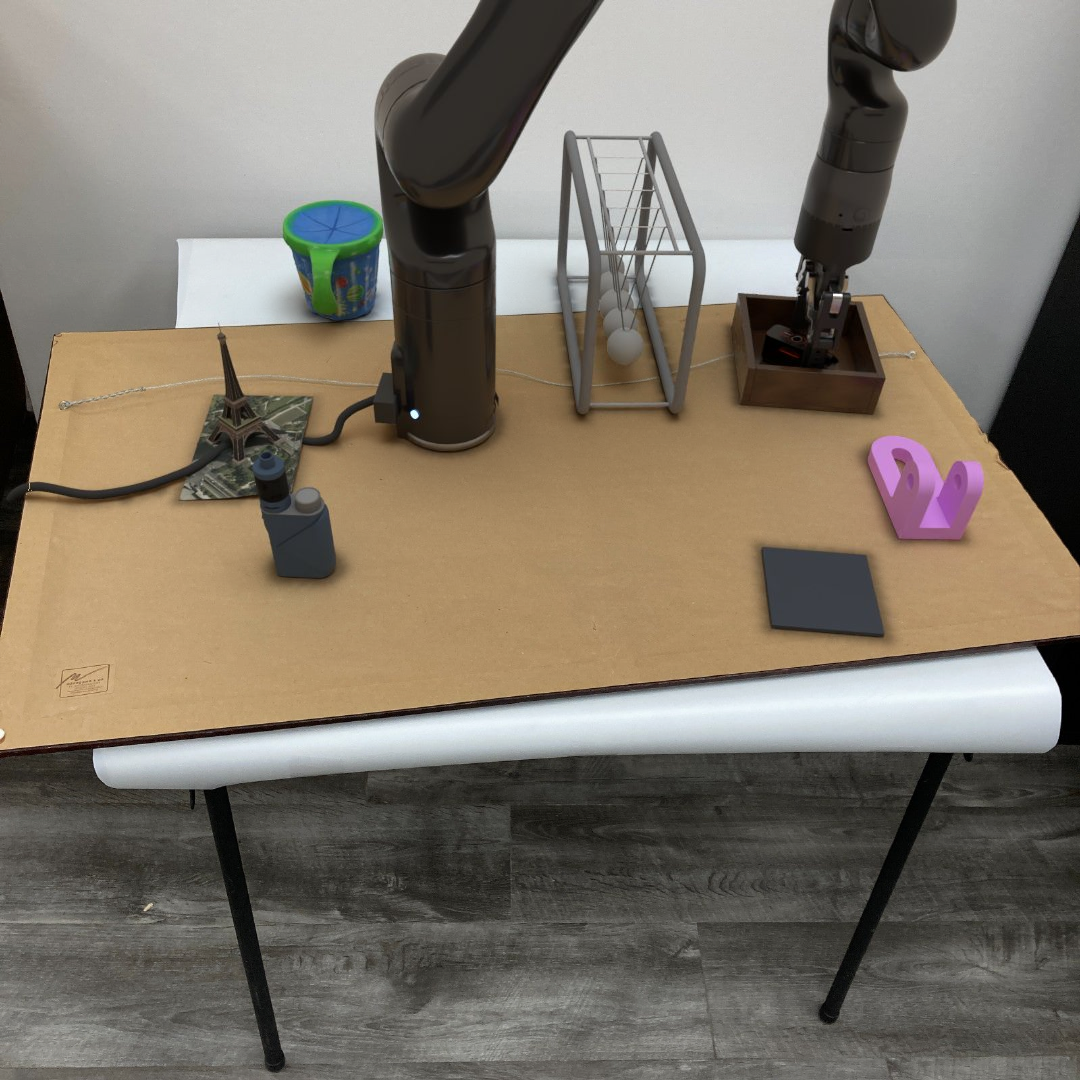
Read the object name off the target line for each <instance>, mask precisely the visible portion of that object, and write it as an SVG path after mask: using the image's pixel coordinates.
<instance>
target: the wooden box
mask: <svg viewBox="0 0 1080 1080" xmlns="http://www.w3.org/2000/svg"><path fill="white" fill-rule="evenodd" d="M796 300H797V296H788V295H787V296H786V295H774V294H759V293H746V292H738V293H737V297H736V303H735V307H734V311H733V312H734V313H733V316H732V317H733V318H732V322H731V327H730V329H731V335H732V336H731V337H732V344H733V345H732V346H733V353H734V361H735V369H736V378H737V387H738V394H739V402H740V403H739V404H740V405H743V406H757V407H758V406H759V407H770V408H784V409H795V410H796V409H798V410H811V411H824V412H837V413H848V414H849V413H852V414H864V415H874V414H875V412H876V408H877V406H878V402H879V399H880V397H881V394H882V391H883V388H884V385H885V383H886V379H887V377H886V373H885V371H884V367H883V365H882V361H881V357H880V355H879V351H878V347H877V344H876V341H875V338H874V335H873V332H872V328H871V326H870V322H869V319H868V316H867V312H866V308H865V306H864V303H863V301H859V300H855V301H854V300H851V302H850V304H849V308H848V311H847V315H846V319H845V323H844V326H843V330H842V334H841V338H840V341H839V346H838V349H837V350H830V349H829V350H828V352H829V353H830V354H832V355H834V356H835V357H837V359H838V361H839V362H838V363H837V364H835V365H833V364H832V365H831V366H829V367H826V366H825V365H824V368H823V369H815V368H802V367H788V366H777V365H775V364H773V363H770V362H768V361H766V360H764V359H763V358H762V356H761V353H762V349H763V345H764V340H765V336H766V332H767V331H768V330H769V329H771V328H772V327H773V326H774V325H782V326H784V327H787V328H789V329H792V330H794V331H797V332H799V333H802V334H804V335H808V330H802V329H794V328H793V327H792V324H791V321H792V316H793V312H794V308H795V304H796ZM816 311H819V307H817V310H816ZM821 332H824V333H828V328H824V329H822V331H821Z"/></svg>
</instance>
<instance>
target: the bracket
mask: <svg viewBox="0 0 1080 1080" xmlns="http://www.w3.org/2000/svg"><path fill="white" fill-rule="evenodd" d="M896 460H898V461H900V462H903V463H904V464H905V465H904V466H903V469H902V471H900V469H899V467H898V465H897V463H896ZM867 465H868V468H869V470H870V472H871V474H872V477H873V480H874V481H875V484H876V487H877V489H878V492H879V494H880V497H881V499H882V502H883V503H884V507H885V508H886V511H887V514H888V516H889V518H890V520H891V523H892V526H893V529H894V530H895V534H896V535H897V537H898V540H954V541H955V540H957V541H959V540H961V539H962V537H963V535H964V533H965V531H966V529H967V526H968V525H969V523H970V520H971V518H972V517H973V514H974V512H975V510H976V507H977V506H978V503H979V501H980V499H981V497H982V494H983V491H984V488H985V487H984V486H985V477H984V471H983V468H982V466H981V464H980V463H979V462H978V461H976V460H956V461H955V462H953V463H952V465H951V466H950V469H949V471H948V473H947V475H946V478H945V480H943V478H942V476H941V474H940V472H939V470H938V468H937V466H936V464H935V462H934V459H933V458H932V455H931V453H930V451H928V449H927V448H926V447H925V446H924V445H922V444H921V443H919V442H918V441H916V440H914V439H911V438H908V437H904V436H900V435H885V436H882V437H879V438H877V439H876V440H875V441H874V442H872V445H871V448H870V450H869V453H868V456H867Z"/></svg>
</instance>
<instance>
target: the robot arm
mask: <svg viewBox="0 0 1080 1080" xmlns="http://www.w3.org/2000/svg"><path fill="white" fill-rule="evenodd" d="M604 2H605V0H479V1H478V3H477V5H476V7H475V9H474V11H473V13H472V14H471V16H470V18H469V19H468V20H467V21H468V22H467V23H466V24H465V27H463V29H462V31H461V32H460V34H459V35H458V37H457V38H456V40H455V41H454V43H453V44H452V46H451V47H450V49H449V50H448V52H447V53H446V54H444V53H438V52H424V53H418V54H415V55H412V56H409V57H407V58H405V59H404V60H402V61H400V62H399V63H397V64H396V65H395V66H394V67H393V68H392V69H391V70H390V71H389V73H387V75H386V77H384V79H383V81H382V83H381V85H380V87H379V89H378V92H377V94H376V98H375V103H374V109H373V110H374V115H373V125H374V139H375V151H376V152H375V153H376V162H377V174H378V183H379V184H378V185H379V193H380V204H381V205H380V206H381V214H382V216H381V217H382V220H383V230H384V234H385V241H386V248H387V257H388V267H389V278H390V289H391V290H390V292H391V305H392V319H393V329H394V330H393V333H394V340H393V341H394V342H393V344H392V348H391V350H390V356H389V357H390V367H391V368H390V369H391V372H385V371H384V372H382V373H381V376H380V378H379V379H380V380H379V382H378V385H377V388H376V392H375V394H373V395H371V396H368V397H366V398H363V399H361V400H358V401H357V402H354V403H353V404H351V405H349V406H347V407H346V408H345V409H344V410H342V411H341V412H340V414H339V415H338V417H337V418H336V420H335V423H334V427H333V430H332V431H331V432H330V433H328V434H326V435H324V436H318V437H310V436H305V435H304V436H303V441H302V445H304V446H311V447H323V446H326V445H329V444H332V443H334V442H335V441H337V440H338V439H339V438H340V436H341V435H342V432H343V429H344V426H345V424H346V421H347V420H348V419H349V418H350V417H352V416H353V415H354V414H356V413H358V412H360V411H362V410H365V409H367V408H369V407H372V406H373V415H374V423H375V424H386V425H395V428H396V436H397V437H398V438H402V439H404V438H405V439H408V440H410V442H412V443H414V444H416V445H418V446H419V447H421V448H425V449H428V450H431V451H432V450H433V451H440V452H455V451H462V450H466V449H471V448H473V447H476V446H478V445H480V444H482V443H483V442H484V441H486V440H487V439H488V438H489V437H490V436H491V435H492V434H493V433H494V431H495V429H496V426H497V411H496V410H497V406H498V407H499V406H500V404H499V402H500V400H499V399H500V398H499V395H498V393H497V390H496V384H497V383H496V381H497V380H496V379H497V377H496V374H497V373H496V371H497V369H496V368H497V367H496V363H497V362H496V361H497V358H496V357H497V234H496V229H495V224H494V219H493V214H492V213H493V212H492V207H491V198H490V191H489V189H490V186H491V185H493V183H494V182H495V181H496V180H497V178H498V176H499V175H500V174H501V172H502V170H503V168H504V167H505V165H506V164H507V162H508V160H509V158H510V156H511V154H512V152H513V151H514V148H515V147H516V145H517V143H518V141H519V139H520V138H521V136H522V134H523V131H524V130H525V128H526V126H527V124H528V122H529V121H530V119H531V117H532V115H533V113H534V111H535V110H536V108H537V106H538V104H539V102H540V101H541V99H542V97H543V95H544V93H545V91H546V89H547V88H548V86H549V84H550V82H551V81H552V79H553V77H554V76H555V74H556V73H557V70H558V69H559V67H560V66H561V64H562V63H563V61H564V59H565V58H566V57H567V55H568V54H569V52H570V51H571V49H572V48H573V46H574V45H575V44H576V42H577V41H578V39H579V38H580V37H581V36H582V34H583V32H584V31H585V29H587V27H588V26H589V24H590V23H591V21H592V19H593V18H594V17H595V15H596V14H597V12H598V11H599V10H600V8H601V6H602V5H603V4H604ZM957 12H958V0H834V1H833V4H832V7H831V10H830V14H829V22H828V28H827V29H828V30H827V52H826V53H827V61H826V62H827V63H826V64H827V65H826V68H827V69H826V86H827V107H826V111H825V116H824V119H823V122H822V126H821V127H822V128H821V131H820V135H819V136H820V137H819V140H818V144H817V150H816V153H815V156H814V160H813V163H812V165H811V166H810V169H809V173H808V177H807V180H806V185H805V189H804V193H803V199H802V202H801V206H800V211H799V215H798V220H797V224H796V228H795V233H794V237H793V244H794V245H793V246H794V247H795V249H796V251H797V252H798V253H799V254H800V258H799V262H798V265H797V269H796V272H795V274H794V275H795V276H794V277H795V281H796V282H797V286H796V287H795V292H796V297H797V300H796V304H795V308H794V312H793V316H792V321H791V324H792V327H793V328H794V329H802V330H808V335H807V342H806V346H805V349H804V353H803V357H802V361H801V365H800V367H802V368H815V369H823V368H824V364H825V361H826V357H827V354H828V350H829V349H830V350H837V349H838V346H839V341H840V338H841V334H842V330H843V326H844V323H845V319H846V315H847V311H848V308H849V304H850V302H851V301H852V294H851V293H850V292H847V291H848V288H849V282H850V281H849V280H850V277H849V274H847V273H846V271H847V270H848V269H850V268H852V267H853V266H856V265H860V264H863V263H865V261H867V260H868V259H869V258H870V257H871V255H872V252H873V250H874V246H875V243H876V239H877V235H878V232H879V229H880V225H881V222H882V218H883V215H884V211H885V208H886V205H887V201H888V198H889V195H890V192H891V186H892V181H893V174H894V168H895V164H896V160H897V157H898V153H899V150H900V147H901V143H902V139H903V136H904V132H905V129H906V126H907V121H908V118H909V117H908V116H909V102H908V99H907V97H906V96H905V94H904V93H903V92H902V90H901V89H900V88H899V86H898V84H897V83H896V80H895V77H894V71H895V72H900V73H911V72H915V71H919V70H921V69H923V68H924V69H925V67H927V66H929V65H930V64H932V63H933V62H934V61H935V60H937V58H938V57H939V56H940V55H941V54H942V52H943V51H944V50H945V48H946V46H947V45H948V43H949V41H950V39H951V36H952V34H953V31H954V27H955V24H956V20H957ZM817 307H819V311H816V310H817ZM824 328H828V333H824V332H821V331H822V329H824ZM496 405H497V406H496ZM270 429H271V430H272V431H273V432H274V433H275V434H290V433H288V432H286V431H283V430H278V429H272V428H270ZM257 435H265V433H263V432H253V433H251V434H250V435H249V436H248V437H247V438H249V437H253V436H257ZM231 445H233V443H232V440H231V438H229V439H227V440H225V441H224V442H222V443H221V444H219V445H218V446H217V447H215V448H214V449H213V450H211V451H210V452H209V453H207V454H206V455H205V456H203V457H202V458H200V459H199V460H197V461H196V462H194V463H192V464H191V463H190V464H188V465H187V466H184V467H182V468H180V469H177V470H174V471H172V472H171V471H170V472H169V473H166V474H163V475H161V476H158V477H154V478H151V479H148V480H144V481H142V482H138V483H134V484H130V485H125V486H118V487H114V488H113V487H112V488H106V489H94V490H93V489H79V488H75V487H70V486H65V485H60V484H56V483H52V482H51V483H50V482H45V481H29V482H26V483H22V484H20V485H17V486H16V487H14V488H13V489H12V490H10V492H9V493H8V494H7V495H6V498H5V500H6V501H8V502H12V501H16V500H18V499H19V498H20V497H22V496H23V495H25V494H28V493H32V492H43V493H49V494H54V495H59V496H63V497H68V498H72V499H79V500H88V501H89V500H90V501H91V500H92V501H93V500H94V501H96V500H109V499H115V498H121V497H127V496H132V495H135V494H136V495H137V494H140V493H144V492H148V491H151V490H154V489H157V488H160V487H163V486H166V485H168V484H171V483H174V482H177V481H179V480H181V479H184V478H186V477H187V476H189V475H191V474H193V473H195V472H196V471H198V470H200V469H201V468H203V467H205V466H206V465H207V464H209V463H210V462H212V461H213V460H214V459H215V458H217V457H218V456H219V455H220V454H221V452H223V451H224V450H225V449H227V448H228V447H230V446H231ZM29 483H30V489H29ZM28 489H29V491H28ZM31 490H32V491H31Z"/></svg>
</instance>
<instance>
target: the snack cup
mask: <svg viewBox="0 0 1080 1080" xmlns="http://www.w3.org/2000/svg"><path fill="white" fill-rule="evenodd" d="M383 237H384V223H383V217H382V216H381V214H380V213H379V212H378V211H377V210H375V209H374V208H372V207H370V206H368V205H367V204H364V203H360V202H357V201H351V200H345V199H329V200H328V199H326V200H320V201H319V200H318V201H313V202H310V203H307V204H303V205H301V206H298V207H297V208H294V209H293V210H292V211H290V212H289V213H288V214H287V215H286V216H285V218H284V219H283V222H282V238H283V240H284V243H285V244H286V245H287V246H288V247H289V249H290V250H291V253H292V259H293V261H294V265H295V268H296V272H297V276H298V278H299V281H300V283H301V287H302V290H303V293H304V297H305V300H306V302H307V304H308V307H309V309H310V312H312V313H314V314H317V315H319V316H321V317H322V318H325V319H329V320H333V321H336V322H337V321H341V320H352V319H355V318H359V317H360V316H362V315H367V314H368V313H369V312H371V309H372V308H373V307H374V305H375V302H376V297H377V295H376V294H377V284H378V276H379V261H380V260H379V259H380V252H381V251H380V245H381V242H382V239H383Z"/></svg>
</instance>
